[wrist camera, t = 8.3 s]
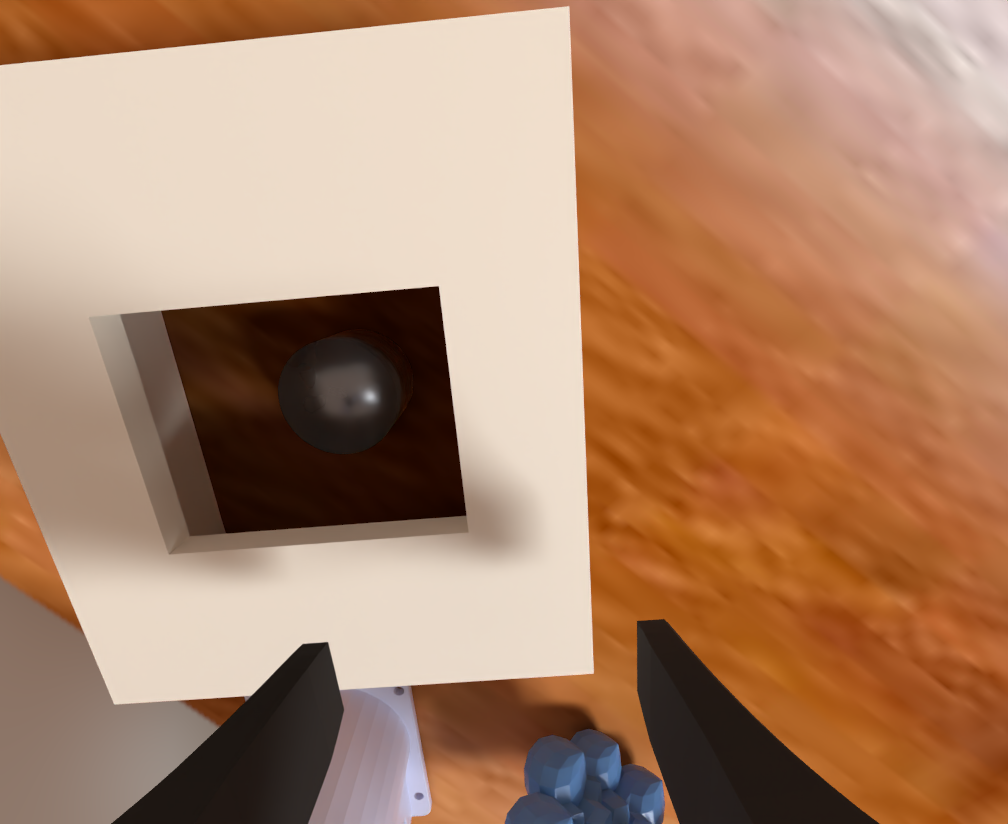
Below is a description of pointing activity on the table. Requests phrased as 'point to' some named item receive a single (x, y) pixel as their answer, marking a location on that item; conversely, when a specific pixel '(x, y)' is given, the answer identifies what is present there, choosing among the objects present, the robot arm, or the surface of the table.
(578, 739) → the grapes
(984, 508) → the table surface
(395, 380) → the dark grey rounded piece
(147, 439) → the box
